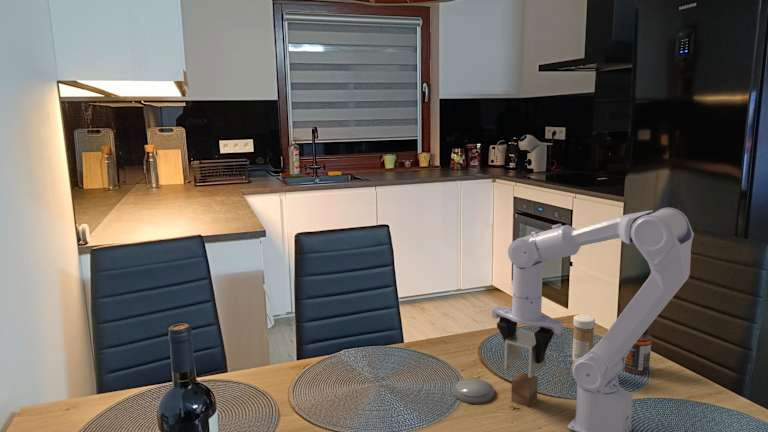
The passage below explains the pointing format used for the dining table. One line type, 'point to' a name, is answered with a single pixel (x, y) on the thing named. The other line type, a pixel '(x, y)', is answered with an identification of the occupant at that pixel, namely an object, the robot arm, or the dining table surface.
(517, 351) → the cover
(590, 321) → the sprinkles bottle
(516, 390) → the block
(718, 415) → the dining table surface
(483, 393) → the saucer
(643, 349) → the supplement bottle
